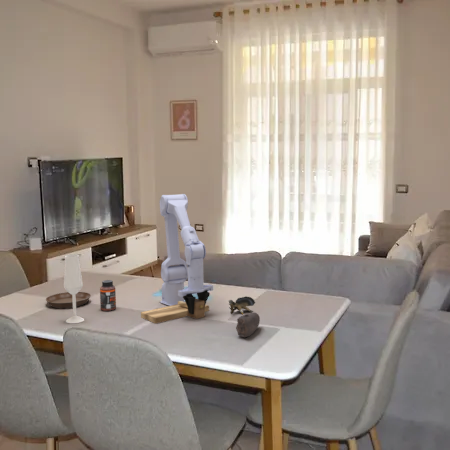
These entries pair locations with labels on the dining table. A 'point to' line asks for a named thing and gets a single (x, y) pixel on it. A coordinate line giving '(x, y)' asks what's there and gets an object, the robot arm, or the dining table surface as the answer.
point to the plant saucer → (67, 299)
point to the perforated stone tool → (247, 324)
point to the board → (167, 313)
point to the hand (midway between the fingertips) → (196, 312)
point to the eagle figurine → (241, 304)
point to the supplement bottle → (107, 296)
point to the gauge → (195, 308)
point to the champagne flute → (73, 282)
